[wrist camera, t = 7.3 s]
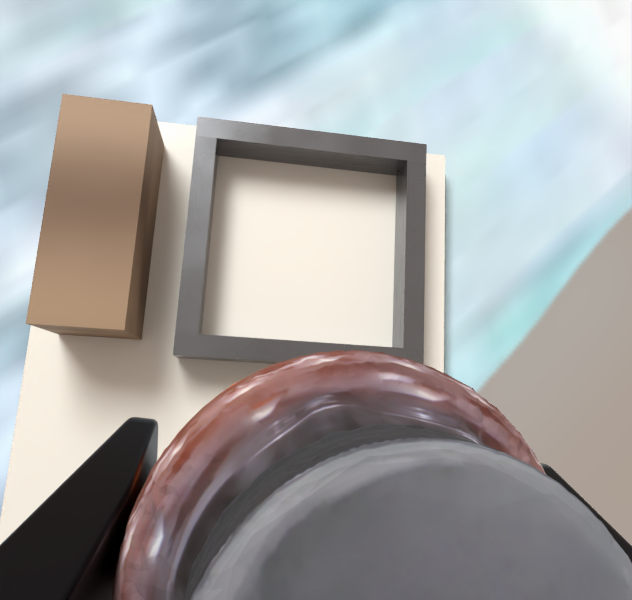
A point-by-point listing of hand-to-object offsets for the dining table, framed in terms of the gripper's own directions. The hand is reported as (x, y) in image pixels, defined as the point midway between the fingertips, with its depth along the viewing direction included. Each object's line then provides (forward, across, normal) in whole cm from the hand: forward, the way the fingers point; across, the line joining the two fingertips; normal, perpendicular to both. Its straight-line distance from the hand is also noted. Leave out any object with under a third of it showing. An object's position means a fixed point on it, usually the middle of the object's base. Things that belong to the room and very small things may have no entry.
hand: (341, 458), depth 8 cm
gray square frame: (+14, 0, +4) cm, 15 cm away
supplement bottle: (+4, 0, +6) cm, 7 cm away
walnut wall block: (+14, +8, +4) cm, 16 cm away
